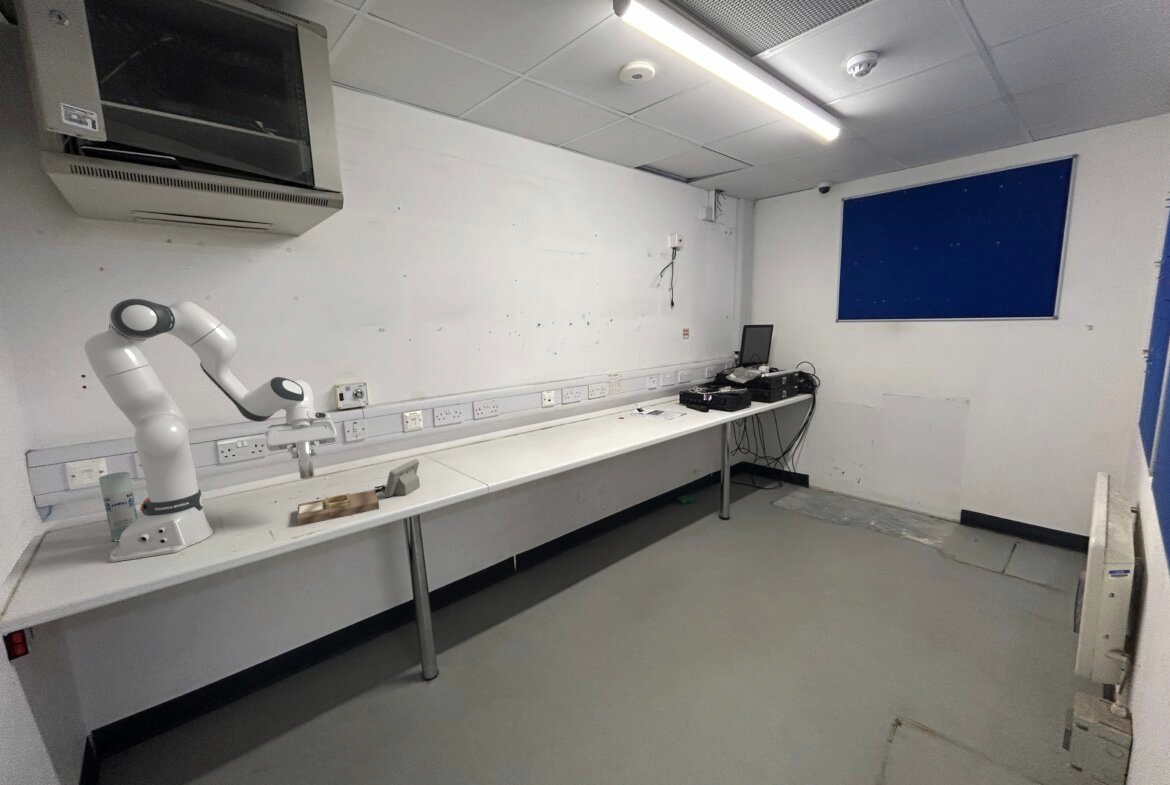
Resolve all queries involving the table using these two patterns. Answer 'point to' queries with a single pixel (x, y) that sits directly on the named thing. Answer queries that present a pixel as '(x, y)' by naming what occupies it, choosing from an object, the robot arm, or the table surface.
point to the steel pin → (304, 459)
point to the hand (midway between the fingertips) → (304, 456)
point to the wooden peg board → (336, 507)
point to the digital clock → (403, 479)
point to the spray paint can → (118, 502)
